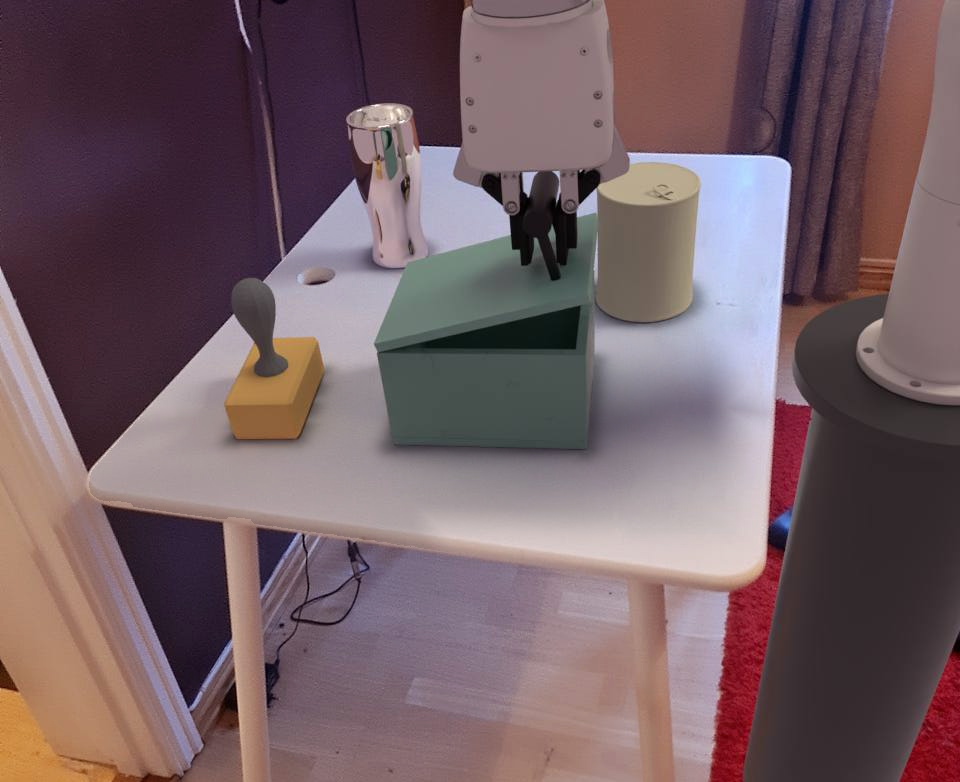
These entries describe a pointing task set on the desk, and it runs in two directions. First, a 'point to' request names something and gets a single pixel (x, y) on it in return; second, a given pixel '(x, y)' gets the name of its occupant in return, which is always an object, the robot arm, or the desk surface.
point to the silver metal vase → (389, 180)
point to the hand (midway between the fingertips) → (545, 255)
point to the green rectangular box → (496, 384)
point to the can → (647, 242)
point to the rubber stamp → (270, 371)
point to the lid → (493, 279)
